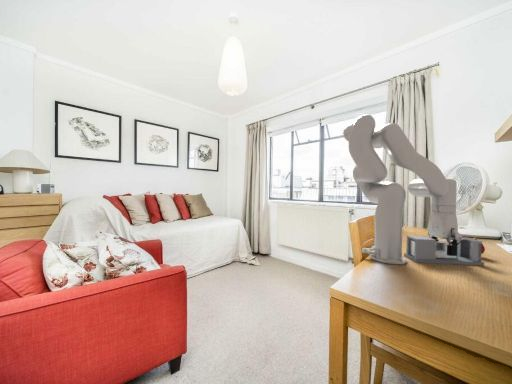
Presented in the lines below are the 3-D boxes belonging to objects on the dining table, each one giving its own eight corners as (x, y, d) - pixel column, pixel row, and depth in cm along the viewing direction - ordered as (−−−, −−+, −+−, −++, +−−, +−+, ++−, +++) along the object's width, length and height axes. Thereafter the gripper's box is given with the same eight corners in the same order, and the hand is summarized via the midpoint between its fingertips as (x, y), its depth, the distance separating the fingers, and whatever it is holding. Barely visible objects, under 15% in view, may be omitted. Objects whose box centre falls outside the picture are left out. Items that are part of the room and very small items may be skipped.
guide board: (415, 262, 84) (416, 239, 84) (404, 255, 92) (404, 235, 91) (484, 265, 81) (484, 241, 81) (466, 258, 89) (466, 237, 89)
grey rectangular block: (415, 257, 86) (416, 242, 86) (410, 254, 89) (410, 239, 89) (458, 258, 84) (458, 243, 84) (450, 256, 87) (451, 241, 87)
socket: (472, 261, 82) (472, 241, 82) (458, 255, 88) (458, 237, 88) (481, 261, 82) (482, 241, 81) (466, 256, 88) (467, 237, 88)
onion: (488, 258, 89) (489, 239, 89) (474, 258, 89) (475, 239, 89) (474, 254, 95) (475, 236, 95) (461, 254, 95) (462, 236, 95)
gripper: (419, 207, 95) (418, 245, 95) (449, 211, 78) (448, 258, 78) (437, 207, 94) (437, 246, 94) (472, 212, 77) (471, 259, 77)
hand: (442, 251), depth 86 cm, fingers open, 9 cm apart
